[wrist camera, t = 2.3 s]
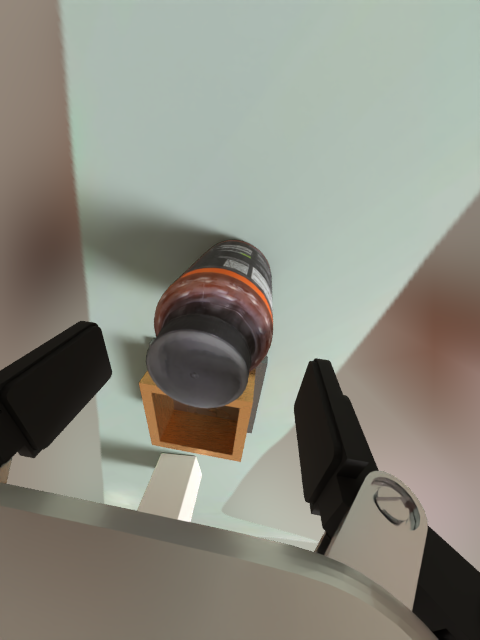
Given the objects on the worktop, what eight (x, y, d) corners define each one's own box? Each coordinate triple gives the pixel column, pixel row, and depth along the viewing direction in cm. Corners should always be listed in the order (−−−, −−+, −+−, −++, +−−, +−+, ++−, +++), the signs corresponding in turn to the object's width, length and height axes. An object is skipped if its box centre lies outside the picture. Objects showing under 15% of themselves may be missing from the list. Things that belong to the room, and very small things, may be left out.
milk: (196, 455, 34) (103, 784, 15) (202, 474, 37) (132, 768, 18) (160, 452, 35) (30, 759, 16) (169, 470, 38) (69, 747, 19)
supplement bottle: (211, 311, 20) (152, 424, 10) (191, 245, 17) (83, 315, 7) (276, 303, 18) (281, 425, 9) (267, 231, 16) (260, 293, 6)
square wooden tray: (153, 338, 22) (125, 372, 18) (267, 356, 21) (266, 397, 17) (163, 409, 28) (144, 447, 24) (252, 425, 28) (248, 467, 23)
